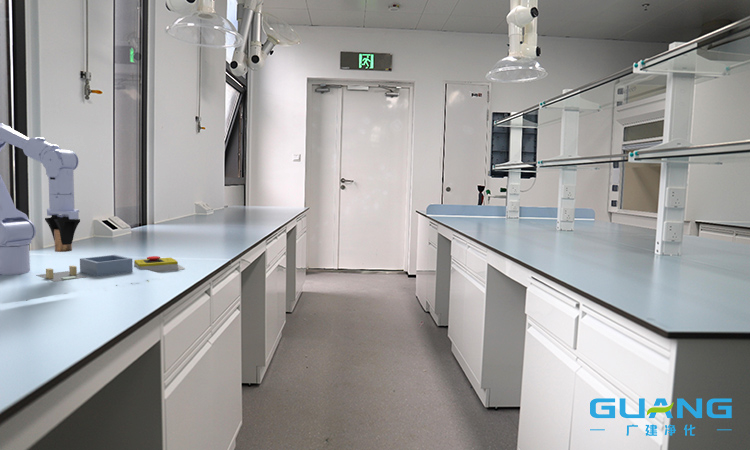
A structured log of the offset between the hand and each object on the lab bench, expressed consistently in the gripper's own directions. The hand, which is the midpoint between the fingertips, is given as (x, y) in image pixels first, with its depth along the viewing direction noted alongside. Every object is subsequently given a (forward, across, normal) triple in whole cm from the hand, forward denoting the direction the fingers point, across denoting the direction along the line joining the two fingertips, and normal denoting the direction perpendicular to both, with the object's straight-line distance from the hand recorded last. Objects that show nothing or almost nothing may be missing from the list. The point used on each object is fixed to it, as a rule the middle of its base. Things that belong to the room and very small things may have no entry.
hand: (63, 243), depth 129 cm
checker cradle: (+10, 0, +1) cm, 10 cm away
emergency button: (+11, -3, -26) cm, 28 cm away
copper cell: (+2, 0, 0) cm, 2 cm away
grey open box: (+10, -2, -10) cm, 15 cm away
